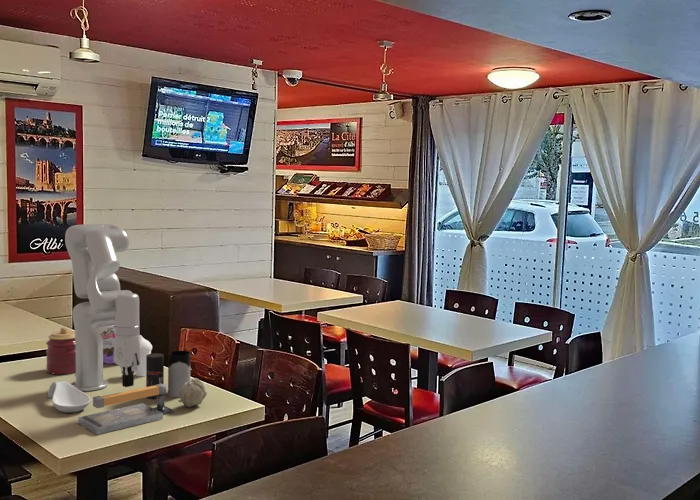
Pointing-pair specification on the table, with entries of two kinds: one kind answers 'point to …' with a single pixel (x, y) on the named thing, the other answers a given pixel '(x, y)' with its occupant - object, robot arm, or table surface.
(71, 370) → the canister
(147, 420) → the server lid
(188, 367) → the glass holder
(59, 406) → the spoon rest
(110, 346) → the candy box
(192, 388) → the garlic bulb
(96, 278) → the robot arm
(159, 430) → the table surface
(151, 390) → the orange and grey bar
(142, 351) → the soft serve ice cream cone
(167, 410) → the post
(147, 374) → the deodorant
